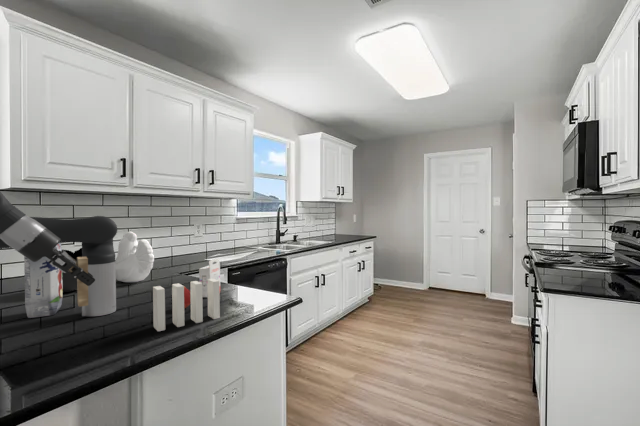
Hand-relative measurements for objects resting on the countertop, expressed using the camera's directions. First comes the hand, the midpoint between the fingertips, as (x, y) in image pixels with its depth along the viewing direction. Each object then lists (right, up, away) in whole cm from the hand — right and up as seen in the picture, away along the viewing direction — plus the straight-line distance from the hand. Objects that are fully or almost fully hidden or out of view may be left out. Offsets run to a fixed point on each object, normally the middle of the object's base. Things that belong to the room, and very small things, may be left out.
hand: (91, 281), depth 88 cm
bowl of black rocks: (-50, -17, +58) cm, 78 cm away
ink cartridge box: (+15, -16, +50) cm, 54 cm away
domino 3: (+21, -16, +17) cm, 32 cm away
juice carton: (-34, -17, +26) cm, 46 cm away
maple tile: (-1, -6, -1) cm, 6 cm away
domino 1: (+13, -16, +11) cm, 23 cm away
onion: (+12, -16, +31) cm, 37 cm away
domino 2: (+17, -16, +14) cm, 27 cm away
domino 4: (+26, -16, +21) cm, 37 cm away
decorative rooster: (-31, -16, +76) cm, 84 cm away
